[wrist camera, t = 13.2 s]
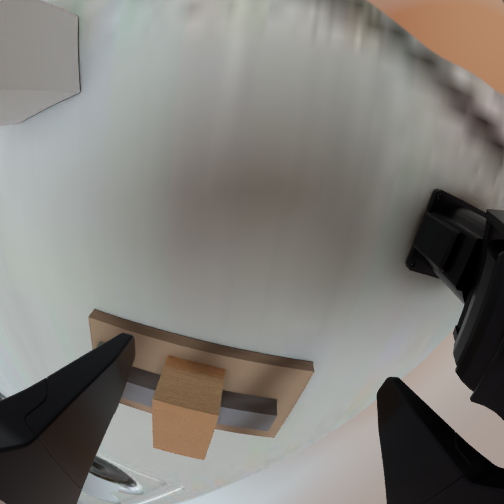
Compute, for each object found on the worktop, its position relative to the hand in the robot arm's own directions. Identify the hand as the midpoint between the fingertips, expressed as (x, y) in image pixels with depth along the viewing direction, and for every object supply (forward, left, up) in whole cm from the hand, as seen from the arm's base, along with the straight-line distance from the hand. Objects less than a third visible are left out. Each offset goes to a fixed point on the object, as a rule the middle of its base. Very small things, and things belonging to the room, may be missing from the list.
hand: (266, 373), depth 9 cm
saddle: (+3, +16, -11) cm, 19 cm away
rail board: (+3, +16, -12) cm, 20 cm away
